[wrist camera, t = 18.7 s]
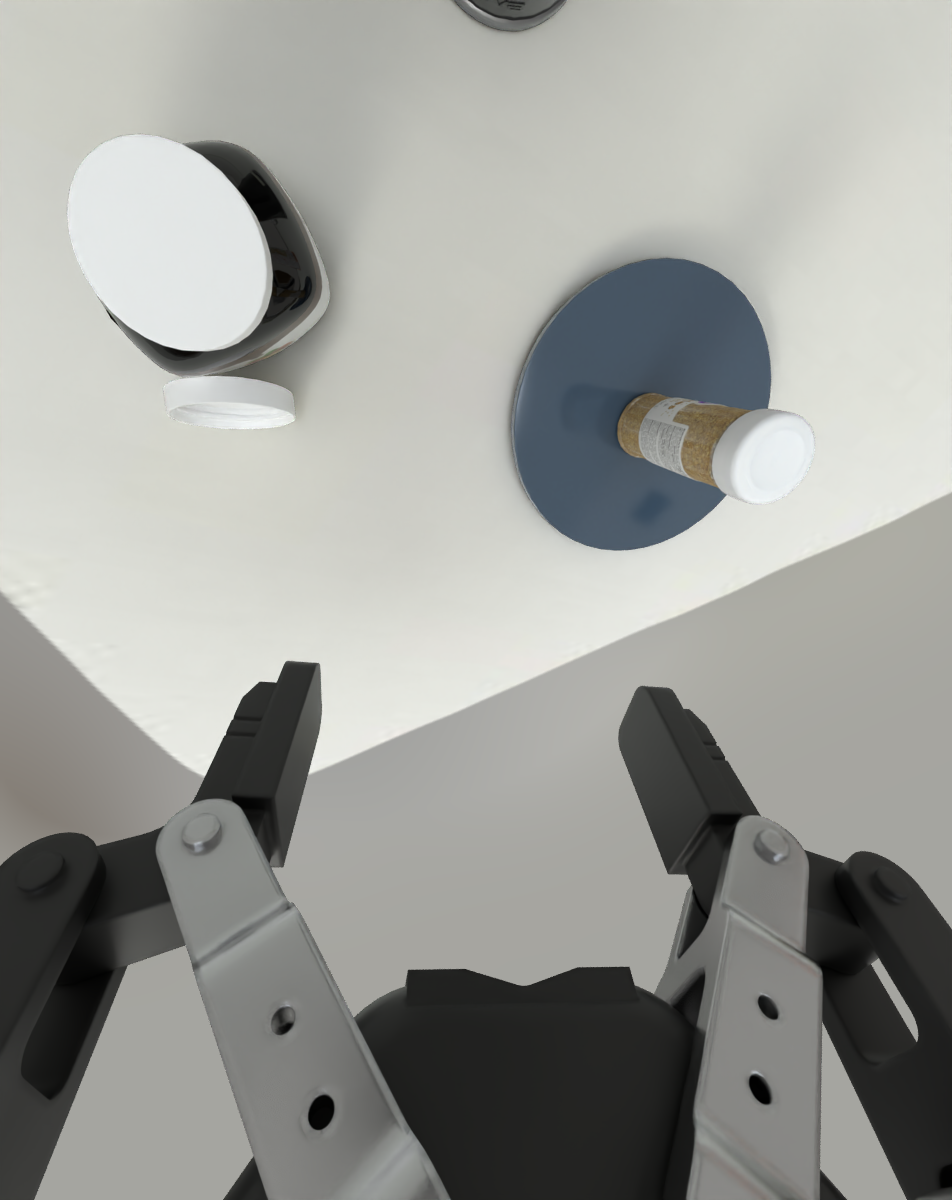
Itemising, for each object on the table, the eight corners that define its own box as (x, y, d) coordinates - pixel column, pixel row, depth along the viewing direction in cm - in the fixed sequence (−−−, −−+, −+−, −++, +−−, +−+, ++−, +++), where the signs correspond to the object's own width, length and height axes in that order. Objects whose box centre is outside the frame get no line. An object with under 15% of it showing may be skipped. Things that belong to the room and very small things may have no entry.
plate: (581, 201, 30) (591, 194, 29) (806, 335, 36) (822, 335, 35) (469, 503, 37) (473, 508, 36) (673, 570, 44) (682, 577, 42)
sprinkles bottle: (676, 391, 35) (832, 410, 23) (666, 455, 37) (804, 503, 25) (617, 393, 34) (747, 414, 22) (610, 459, 36) (726, 510, 25)
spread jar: (276, 167, 27) (217, 52, 16) (381, 372, 32) (386, 381, 22) (90, 273, 27) (-80, 226, 17) (224, 457, 33) (158, 504, 22)
